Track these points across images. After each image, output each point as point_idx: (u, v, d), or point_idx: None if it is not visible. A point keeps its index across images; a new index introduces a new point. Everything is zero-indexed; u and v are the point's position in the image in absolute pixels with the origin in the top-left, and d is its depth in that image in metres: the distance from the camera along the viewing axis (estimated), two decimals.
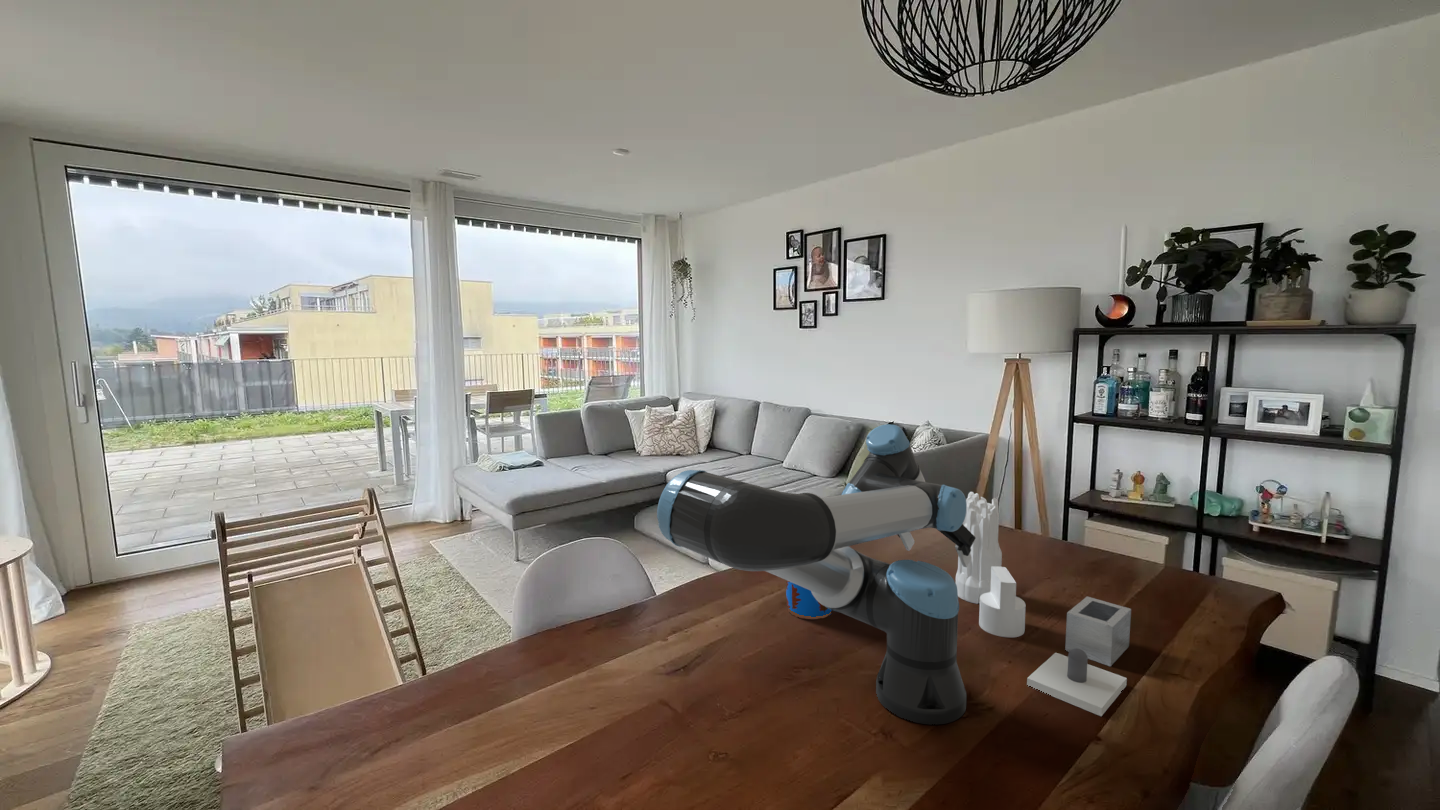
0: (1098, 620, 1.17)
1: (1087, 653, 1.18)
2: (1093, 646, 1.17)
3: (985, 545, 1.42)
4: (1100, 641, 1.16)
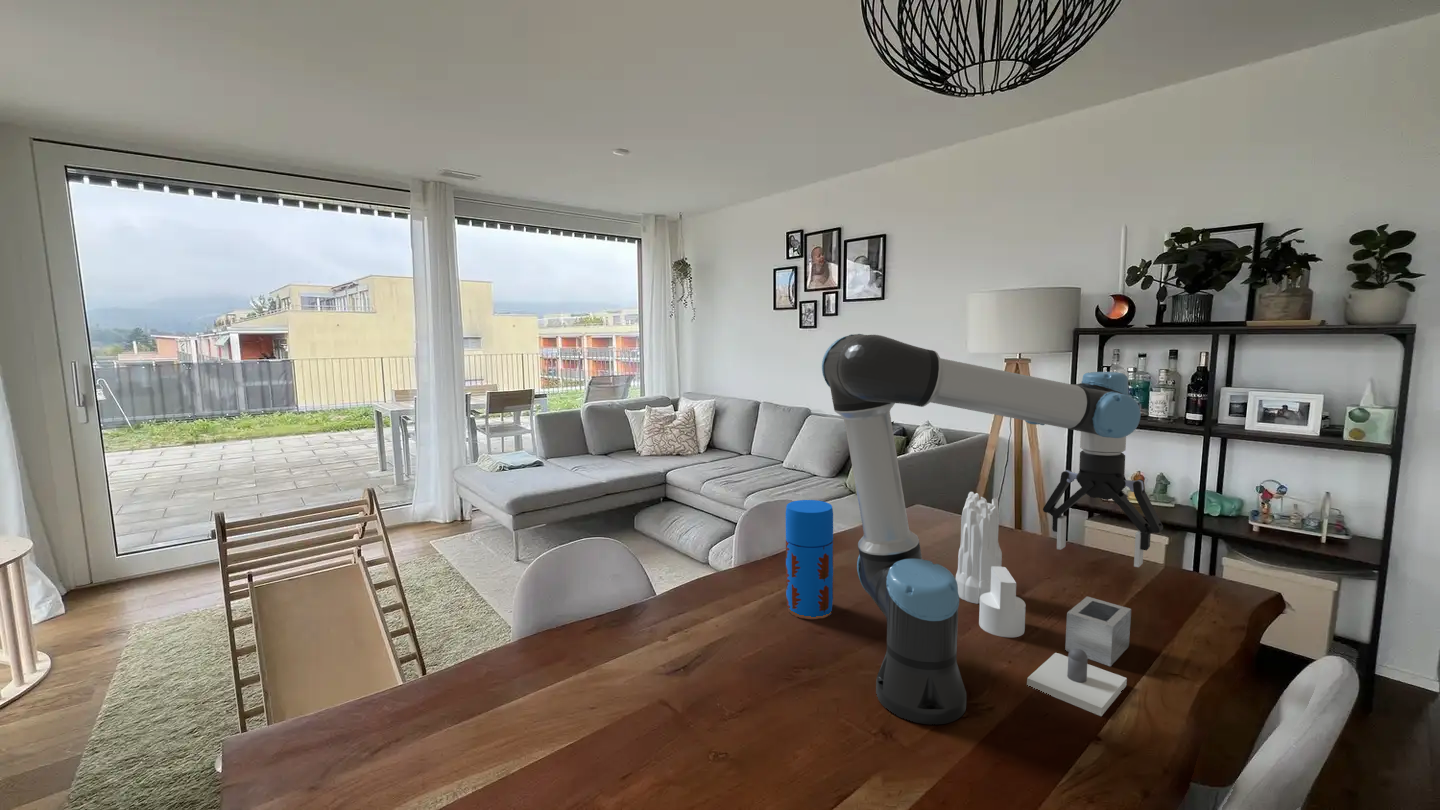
0: (1098, 620, 1.17)
1: (1087, 653, 1.18)
2: (1093, 646, 1.17)
3: (985, 545, 1.42)
4: (1100, 641, 1.16)
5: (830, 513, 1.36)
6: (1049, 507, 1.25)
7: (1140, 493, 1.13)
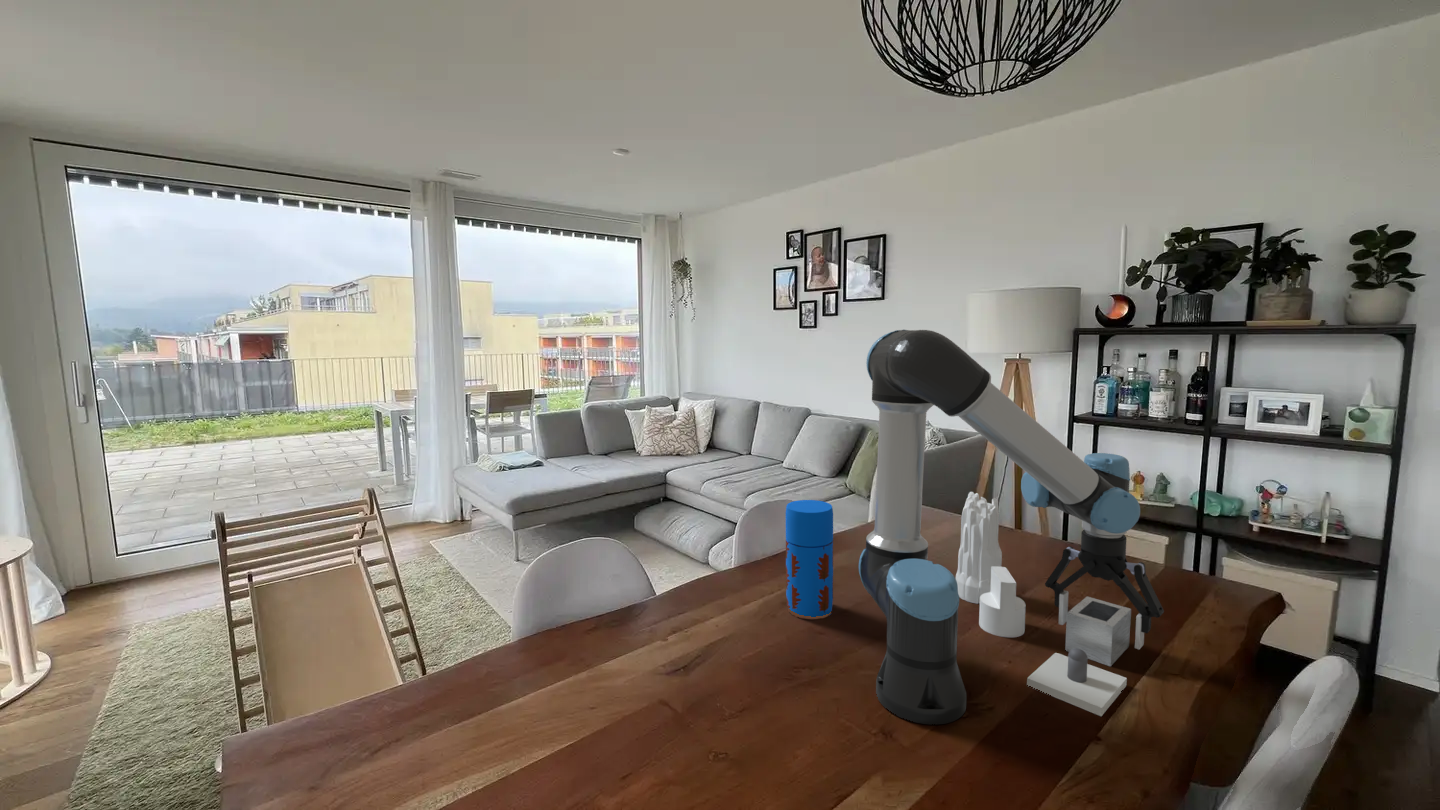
0: (1098, 620, 1.17)
1: (1087, 653, 1.18)
2: (1093, 646, 1.17)
3: (985, 545, 1.42)
4: (1100, 641, 1.16)
5: (830, 513, 1.36)
6: (1051, 582, 1.26)
7: (1141, 577, 1.14)
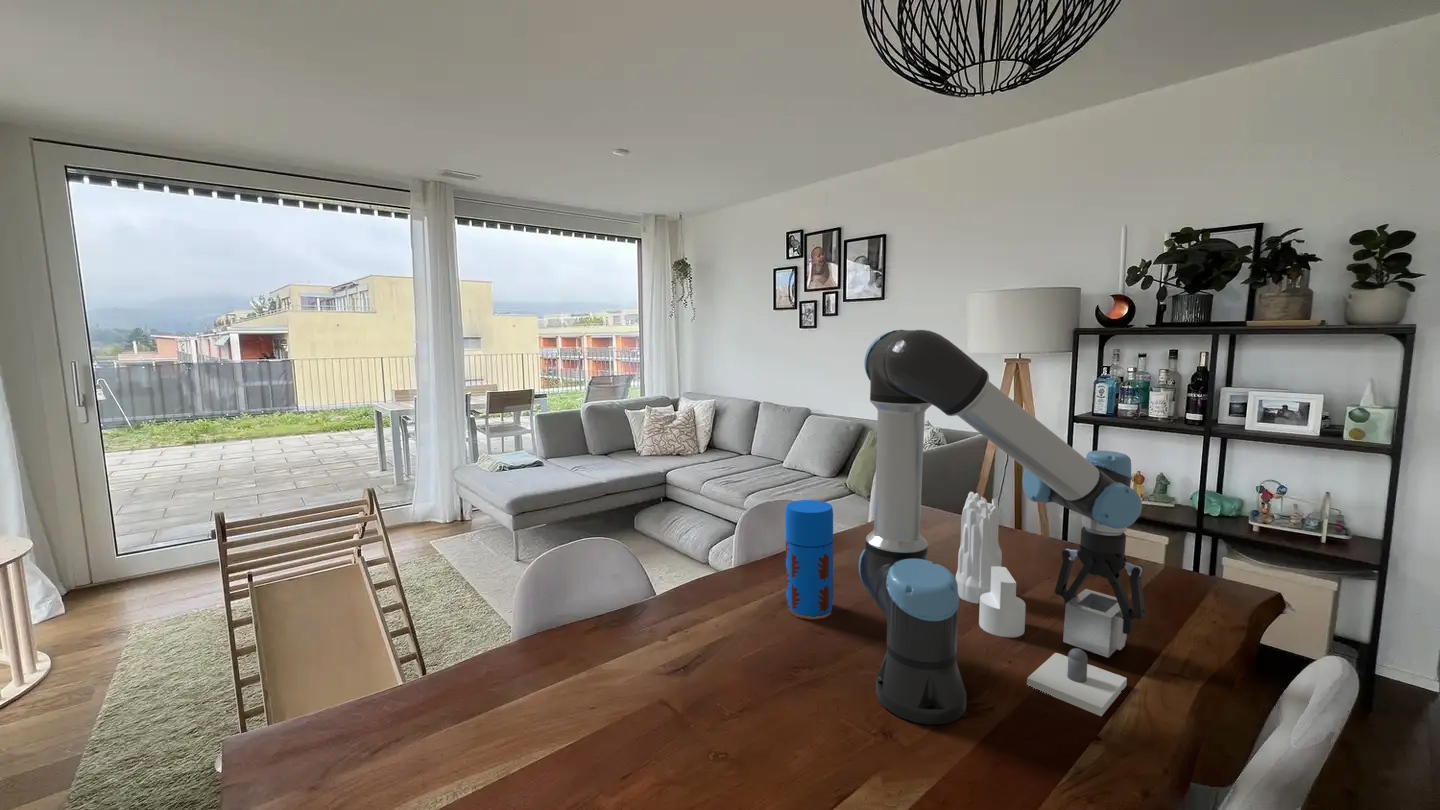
0: (1097, 611, 1.17)
1: (1085, 644, 1.18)
2: (1091, 637, 1.17)
3: (985, 545, 1.42)
4: (1098, 632, 1.16)
5: (830, 513, 1.36)
6: (1060, 589, 1.25)
7: (1136, 579, 1.14)
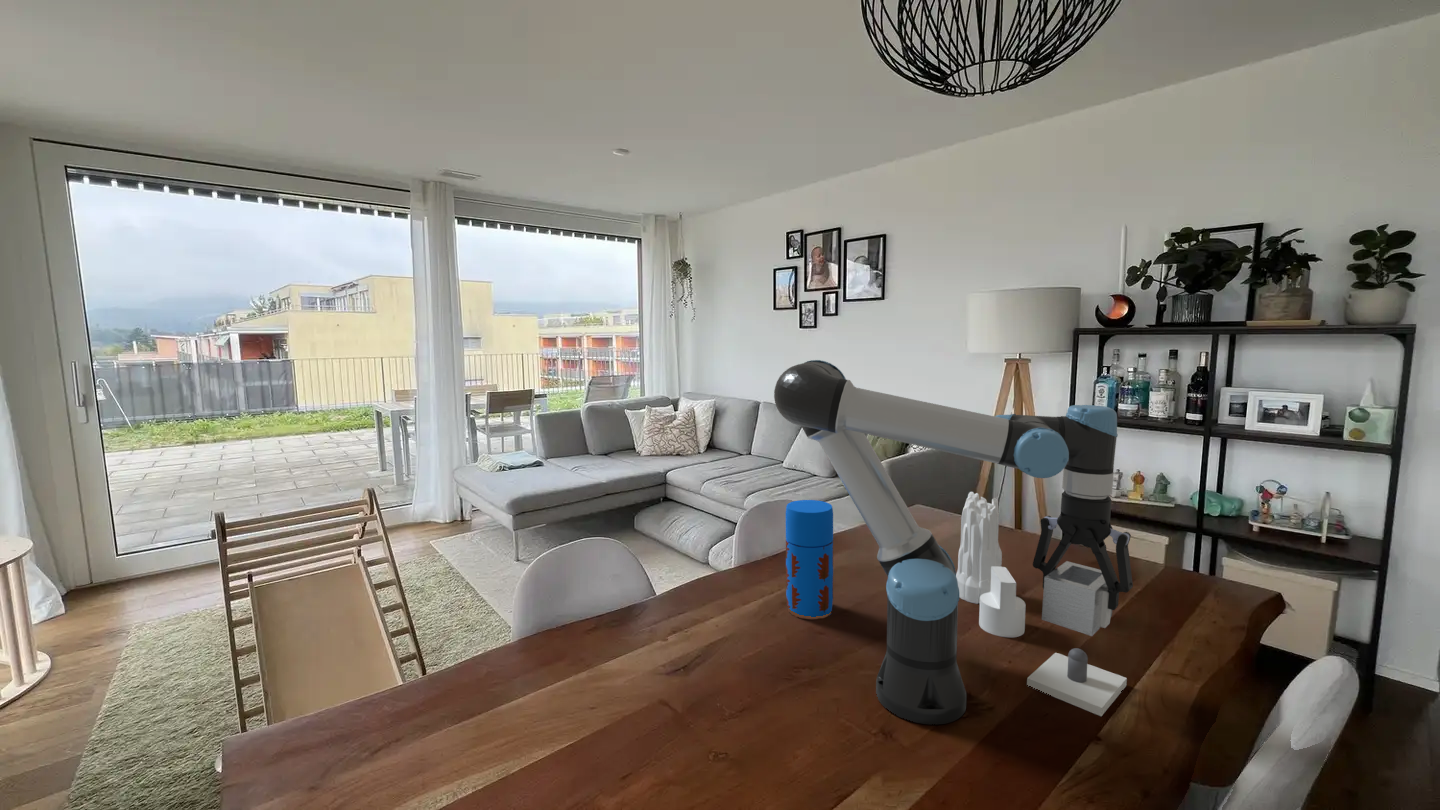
0: (1079, 584, 1.04)
1: (1066, 622, 1.05)
2: (1073, 614, 1.04)
3: (985, 545, 1.42)
4: (1080, 608, 1.03)
5: (830, 513, 1.36)
6: (1038, 561, 1.12)
7: (1123, 548, 1.01)
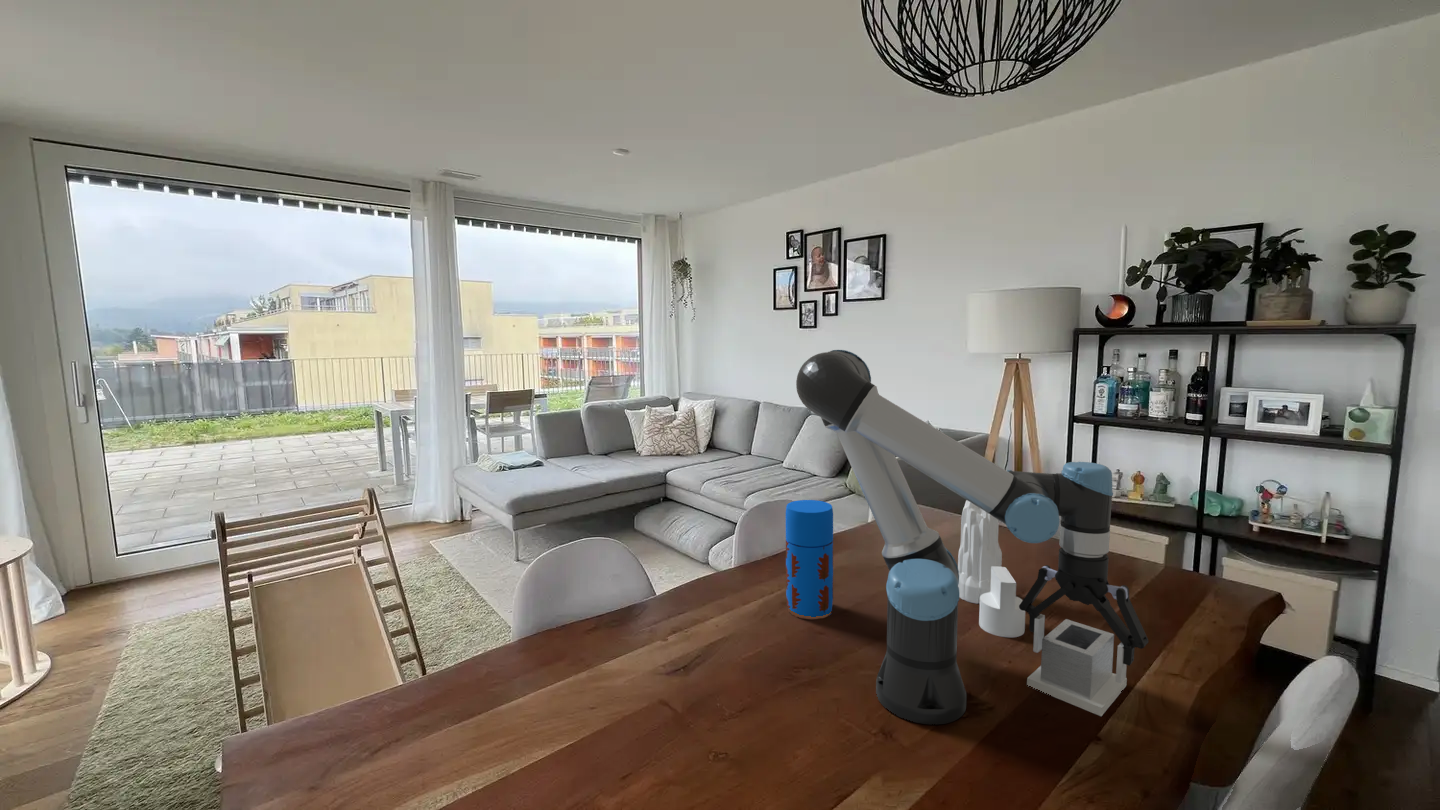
0: (1076, 648, 1.04)
1: (1064, 685, 1.05)
2: (1071, 677, 1.04)
3: (985, 545, 1.42)
4: (1078, 672, 1.03)
5: (830, 513, 1.36)
6: (1026, 605, 1.14)
7: (1124, 602, 1.01)
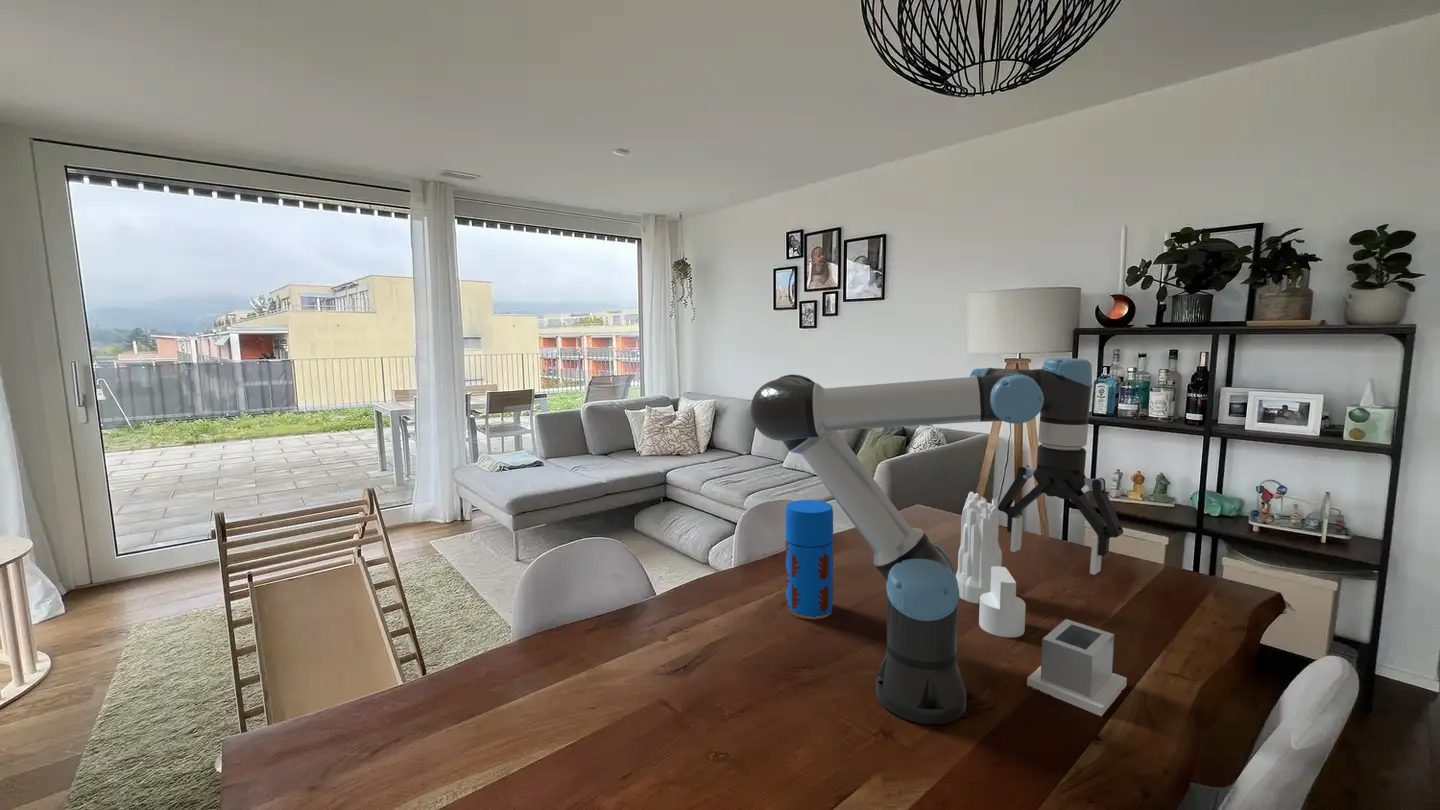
0: (1076, 648, 1.04)
1: (1064, 685, 1.05)
2: (1071, 677, 1.04)
3: (985, 545, 1.42)
4: (1078, 672, 1.03)
5: (830, 513, 1.36)
6: (1004, 505, 1.14)
7: (1099, 493, 1.02)
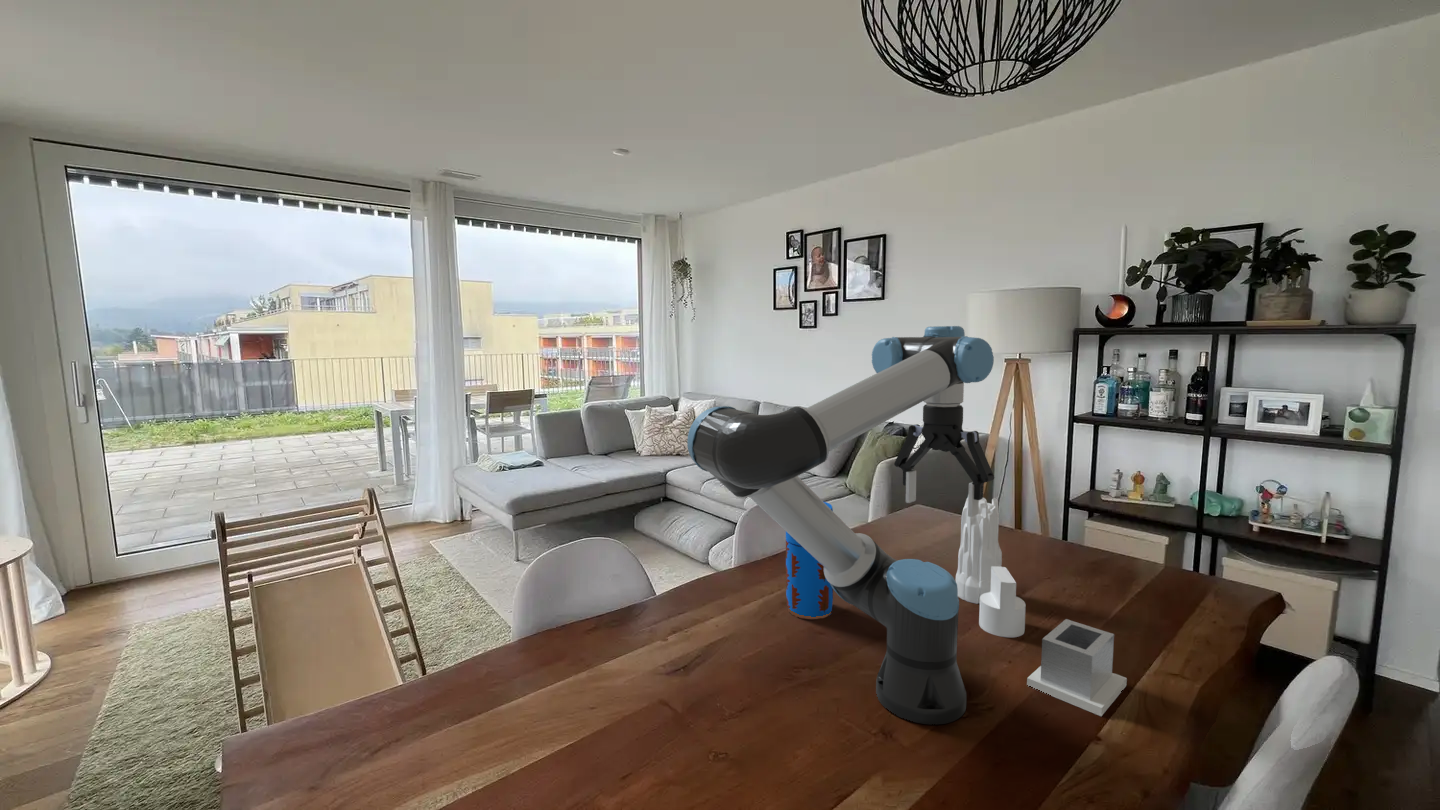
0: (1076, 648, 1.04)
1: (1064, 685, 1.05)
2: (1071, 677, 1.04)
3: (985, 545, 1.42)
4: (1078, 672, 1.03)
5: None
6: (899, 461, 1.27)
7: (972, 443, 1.15)
